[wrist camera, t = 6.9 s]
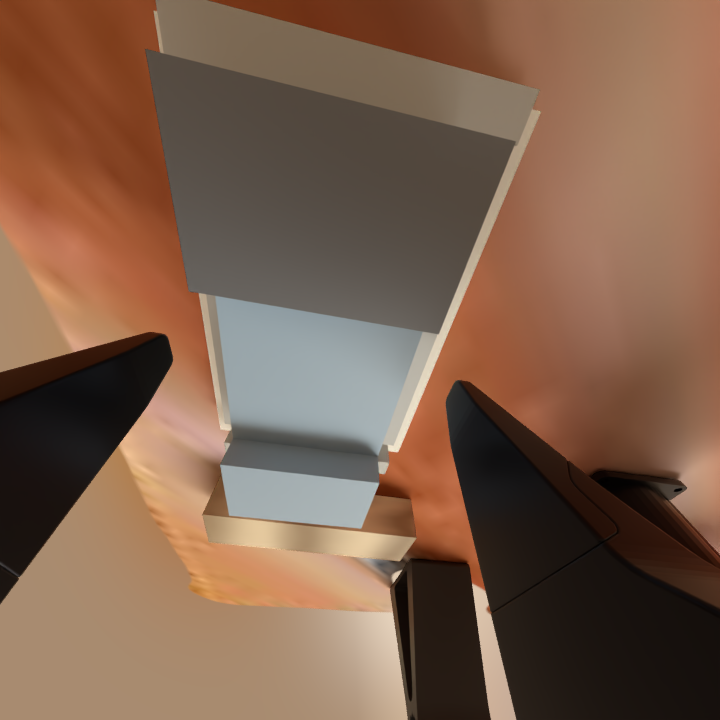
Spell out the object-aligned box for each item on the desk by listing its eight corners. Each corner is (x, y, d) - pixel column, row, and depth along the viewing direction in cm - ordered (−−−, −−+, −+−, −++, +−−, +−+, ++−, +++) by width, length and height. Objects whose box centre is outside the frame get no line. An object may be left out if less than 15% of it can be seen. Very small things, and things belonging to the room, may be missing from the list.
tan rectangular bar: (410, 495, 21) (416, 537, 19) (395, 519, 23) (399, 561, 21) (222, 471, 19) (202, 514, 17) (226, 500, 22) (208, 542, 19)
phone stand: (438, 592, 32) (471, 776, 23) (389, 588, 32) (401, 775, 22) (468, 562, 27) (528, 783, 17) (411, 557, 27) (438, 782, 17)
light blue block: (361, 428, 15) (361, 528, 11) (267, 416, 14) (229, 515, 10) (437, 157, 8) (516, 140, 4) (264, 115, 8) (145, 48, 3)
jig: (177, 28, 7) (103, -28, 5) (523, 117, 8) (576, 99, 6) (228, 416, 16) (207, 452, 14) (396, 438, 17) (401, 475, 15)
